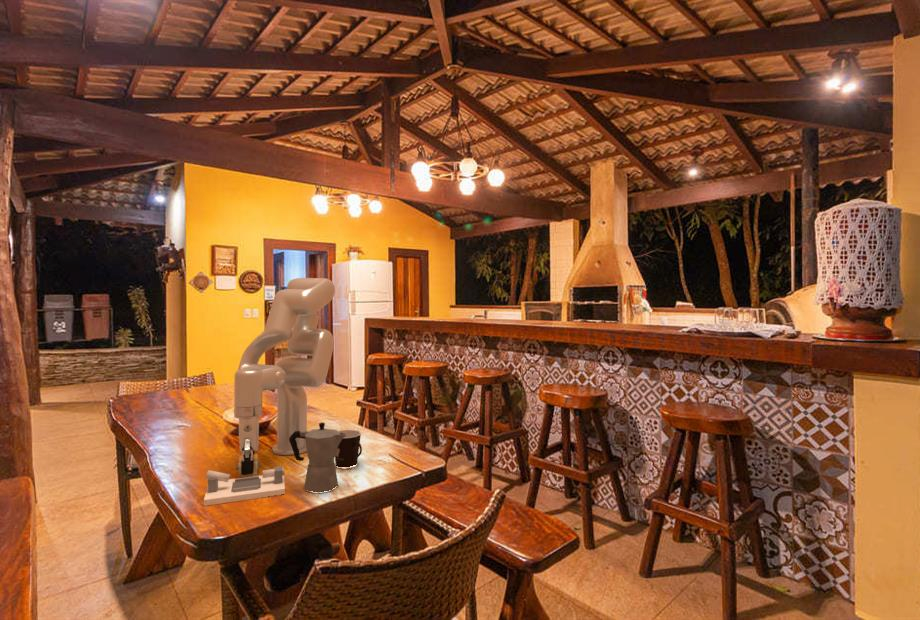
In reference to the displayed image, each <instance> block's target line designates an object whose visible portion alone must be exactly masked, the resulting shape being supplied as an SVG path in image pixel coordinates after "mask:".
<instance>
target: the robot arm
mask: <svg viewBox="0 0 920 620" xmlns="http://www.w3.org/2000/svg"><path fill="white" fill-rule="evenodd" d="M335 293H336V287H335V284H334V282H333V281H332V280H330V279H329V278H325V277H323V278H322V277H316V278H315V277H298V278H293V279H291V280H289V282H288V283H287V286H286V288H285V289H280V290H278V291H277V292H276V293H275V295H274V297H273V300H272V303H271V307H270V310H269V314H268V317H267V319H266V323H265V327H264V329H263V331H262V332H261V333H260V334H259V335H257V337H255V338H254V339H253V340H252V342H251V343H250V344H249V345H248V346H247V347H246V348H245V350H244V351H243V353H242V355H241V358H240V362H239V364H238V367H237V370H236V371H235V373H234V393H233V394H234V397H233V398H234V402H233V403H234V407H233V408H234V411H233V413H234V419H238V441H239V442H238V443H239V444H238V445H239V452H240V453H241V454H242V455H241V456H242V461H241V475H247V474H253V473H254V459H253V454H256V453H255V452H258V450H259V443H260V435H259V434H260V422H259V421H260V420H259V418H260V417H261V416H262V415H263V393H264V392H263V391H274V390H276V393H277V394H276V395H277V404H276V405H277V413H276V414H277V415H276V418H277V419H276V420H277V423H276V424H277V427H276V428H277V429H276V433H277V434H276V435H277V437H276V444H274V445H273V446H272V449H271V451H272V453H274V454H275V455H279V456H293V455H294V452H293V450H292V447H291V444H290V441H289V438H290V436H291V435H292V434H293V433H294V432H295V431H308V430H307V427H308V425H307V424H308V417H307V416H308V413H307V412H308V411H307V410H308V396H307V393H306V391H305V389H304V387H307V388H317V387H322V385H323V384H324V383H325V381H326V379H327V376H328V372H329V368H330V364H331V360H332V356H333V351H334V336H333V334H332V333H331V331H329V330H328V329H325V328H318V323H319V317H320V316H319V313H318V312H319V311H320V310H322V309H323V308H324V307H325V306H327V304H329V303H330V302H331V301H332V300H333V298H334V296H335ZM285 342H286V348H287V349H286V350H287V351H288V352H289V353H290V354H291V355H292V354H293V355H297V356H308V357H309V356H310V357H311V358H307V357H296V356H295V357H292V356H291V357H284V358H281V359H279V360H278V361H277V362H276V363H275V365H274V364H260V363H259V362H260V359H261V357H262V356H263V355H264V354H265V353H266V352H267V351H268V350H271V349H272V348H273V347H276V346H278V345H280V344H283V343H285ZM295 440H296V442H297V447H298V449H299V455H301V454H304V453H307V447H306V440H305V439H302V438H296V439H295ZM294 456H295V455H294Z"/></svg>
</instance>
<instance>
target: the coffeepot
mask: <svg viewBox="0 0 920 620" xmlns="http://www.w3.org/2000/svg"><path fill="white" fill-rule="evenodd" d="M325 424H326V423H325V422H322V421H321V422H319V423H318V426H319V428H318V429H312V430H309V431H308V430H307V431H295V432H294V433H293V434H292V435H291V436H290V438H289V441H290V444H291V447H292V450H293V452H294V458H295V460H296V461H298V462H303V461H304V460H305V457H304V456H301V455H300V454H299V449H298V447H297V442H296V440H295V439H296V438H302V439H305V440H306V447H307V451H306V453H307V458H308V464H307V469H306V475H305V480H304V486H303V487H304V490H305V489H306V490H308V491H313V492H324V491H329V490H332V489H333V488H335V487H336V486H337V487H338V486H339V481H338V475H337V469H336V468H337V467H336V462H335V456H336V450H337V447H338V445H339V444H340V442H341V440H342V439H343V438H344V437H345V436H346V434H345V433H342V432H338V431H339V430H337V429H331V428H325ZM337 487H336V488H337ZM306 490H305V491H306ZM332 491H333V490H332Z"/></svg>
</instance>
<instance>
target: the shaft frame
mask: <svg viewBox="0 0 920 620" xmlns="http://www.w3.org/2000/svg"><path fill="white" fill-rule="evenodd" d="M230 477H231V473H225V472H219V471H214V470H210V469H208V470H207V472H206V475H205V479H207V489H206V492H205V495H204V498H203V506H204V507H207V506H212V505H220V504H227V503H235V502H241V501H248V500H253V499H254V500H255V499H262V497H263V498H269V497H268V496H270V497H275V496H274V495H277V496H282V495H281V494H285V495H286V485H285V484H286V483H285V467H283V465H280V466H279V465H278V466H274V468H270V469H263V470H262V475H256V476H247V477H237V478H230Z"/></svg>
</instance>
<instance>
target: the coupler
mask: <svg viewBox="0 0 920 620" xmlns="http://www.w3.org/2000/svg"><path fill="white" fill-rule="evenodd" d="M253 459H254V473H253V474H247V475H241V461H242V455H239V456H238V463H236V464H235V470H236V471H238V478H245V477H244V476H247V477H253V475H256V476H258V475H257V474H259V473H258V472H259V471H258V470H259V468H261V467H262V466H261V463H262V462H261V460H259V453H255V454H253Z"/></svg>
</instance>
